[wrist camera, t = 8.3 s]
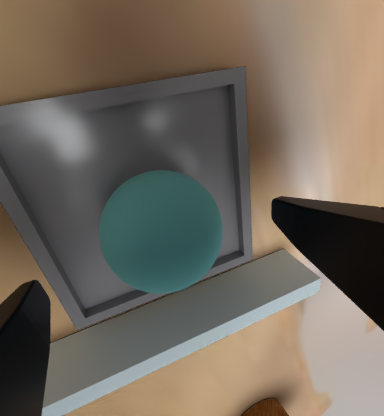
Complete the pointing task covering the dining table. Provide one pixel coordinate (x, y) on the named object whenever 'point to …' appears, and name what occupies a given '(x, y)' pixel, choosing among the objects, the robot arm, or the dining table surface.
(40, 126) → the dish
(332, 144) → the dining table surface
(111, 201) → the ball
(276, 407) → the disposable coffee cup
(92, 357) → the wall
